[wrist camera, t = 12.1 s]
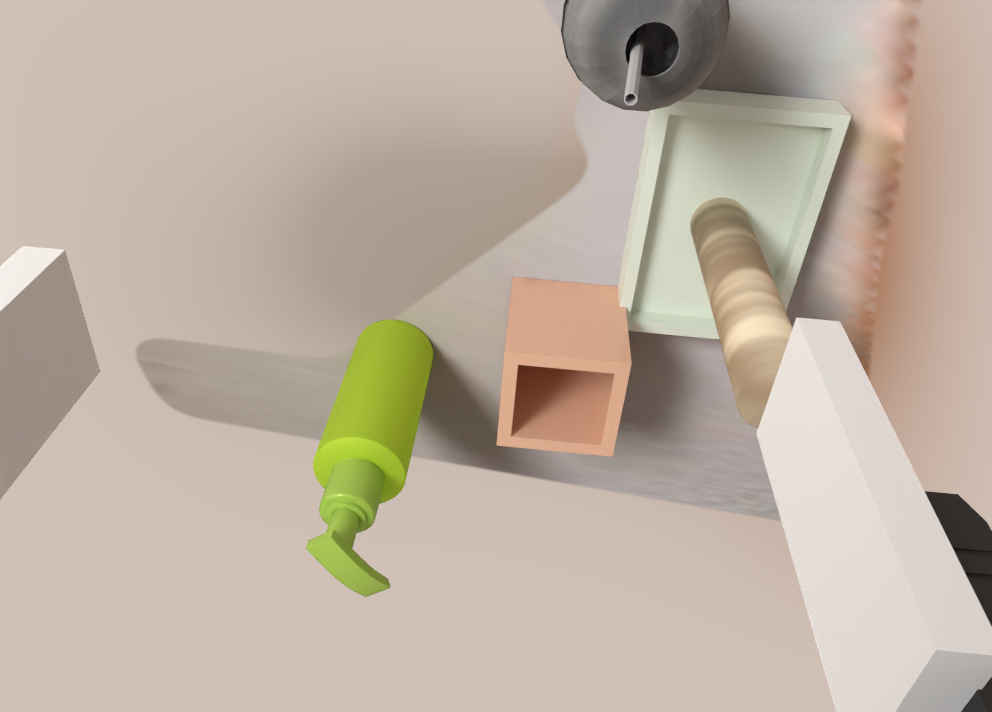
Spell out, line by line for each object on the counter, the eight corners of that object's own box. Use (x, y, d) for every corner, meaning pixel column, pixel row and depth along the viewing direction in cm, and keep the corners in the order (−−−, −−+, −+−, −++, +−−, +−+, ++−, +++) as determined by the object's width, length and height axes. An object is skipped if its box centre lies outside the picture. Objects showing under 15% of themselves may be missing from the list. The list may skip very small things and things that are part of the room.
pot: (512, 276, 56) (504, 351, 49) (623, 287, 56) (631, 363, 49) (505, 365, 61) (496, 445, 54) (607, 374, 61) (612, 456, 53)
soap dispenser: (396, 401, 64) (338, 614, 48) (341, 340, 61) (259, 545, 44) (456, 371, 62) (417, 584, 45) (402, 306, 58) (339, 510, 42)
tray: (653, 84, 48) (657, 99, 46) (838, 100, 48) (851, 115, 45) (613, 309, 57) (615, 329, 55) (767, 323, 57) (775, 344, 55)
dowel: (696, 194, 50) (748, 366, 36) (753, 200, 50) (828, 373, 36) (684, 245, 52) (729, 426, 38) (739, 250, 52) (805, 433, 38)
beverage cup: (710, 9, 45) (790, 141, 29) (588, 60, 47) (599, 209, 31) (674, -129, 41) (742, -65, 25) (542, -67, 43) (528, 27, 27)
